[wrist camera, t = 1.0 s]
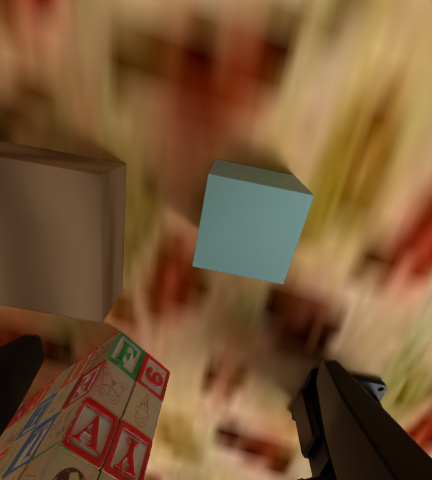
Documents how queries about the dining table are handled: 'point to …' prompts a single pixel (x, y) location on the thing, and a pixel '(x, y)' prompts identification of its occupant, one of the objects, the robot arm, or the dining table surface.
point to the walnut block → (61, 232)
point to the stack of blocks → (89, 419)
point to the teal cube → (250, 221)
